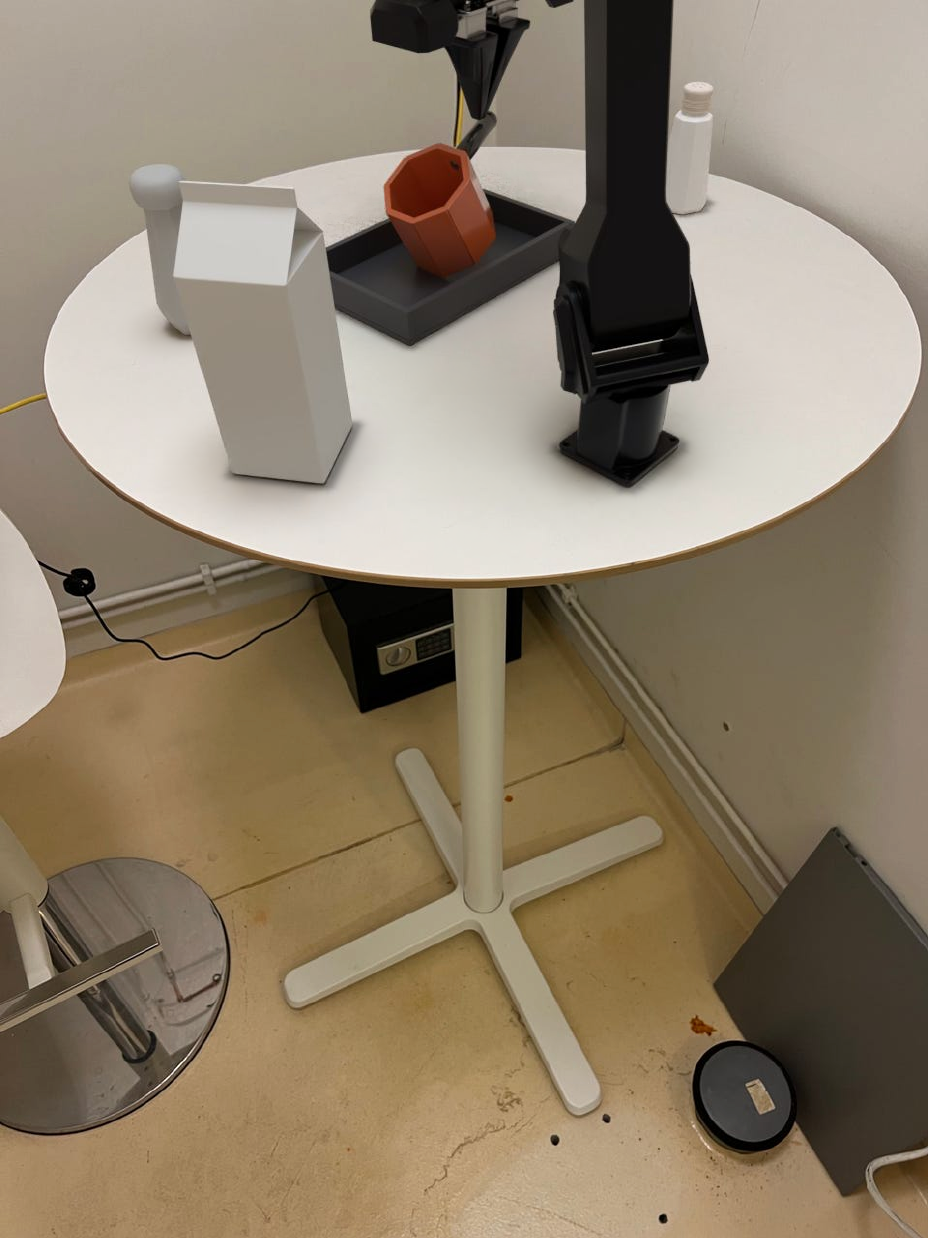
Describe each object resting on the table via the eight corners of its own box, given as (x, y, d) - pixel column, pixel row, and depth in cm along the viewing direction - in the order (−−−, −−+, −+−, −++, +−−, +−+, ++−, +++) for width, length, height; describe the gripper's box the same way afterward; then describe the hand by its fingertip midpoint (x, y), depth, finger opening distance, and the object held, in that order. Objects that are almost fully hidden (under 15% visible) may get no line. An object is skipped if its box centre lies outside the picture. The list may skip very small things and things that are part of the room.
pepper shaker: (684, 219, 86) (704, 99, 78) (643, 203, 89) (658, 85, 81) (716, 203, 89) (739, 84, 80) (675, 188, 91) (693, 72, 83)
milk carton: (325, 486, 60) (272, 214, 46) (232, 475, 61) (151, 207, 47) (353, 426, 65) (313, 163, 50) (266, 417, 66) (202, 157, 51)
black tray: (409, 345, 72) (407, 313, 70) (302, 291, 79) (296, 260, 76) (573, 252, 82) (575, 220, 80) (466, 211, 89) (465, 181, 87)
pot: (460, 285, 78) (431, 231, 71) (400, 259, 81) (367, 205, 75) (544, 173, 78) (522, 109, 72) (481, 151, 82) (455, 89, 76)
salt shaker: (244, 317, 76) (207, 164, 66) (197, 347, 73) (151, 191, 63) (198, 300, 78) (156, 150, 68) (151, 328, 75) (100, 175, 65)
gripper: (479, -141, 71) (481, 72, 82) (309, -105, 62) (338, 127, 74) (585, -129, 65) (571, 96, 77) (415, -88, 57) (428, 159, 69)
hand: (478, 118), depth 74 cm, fingers closed
